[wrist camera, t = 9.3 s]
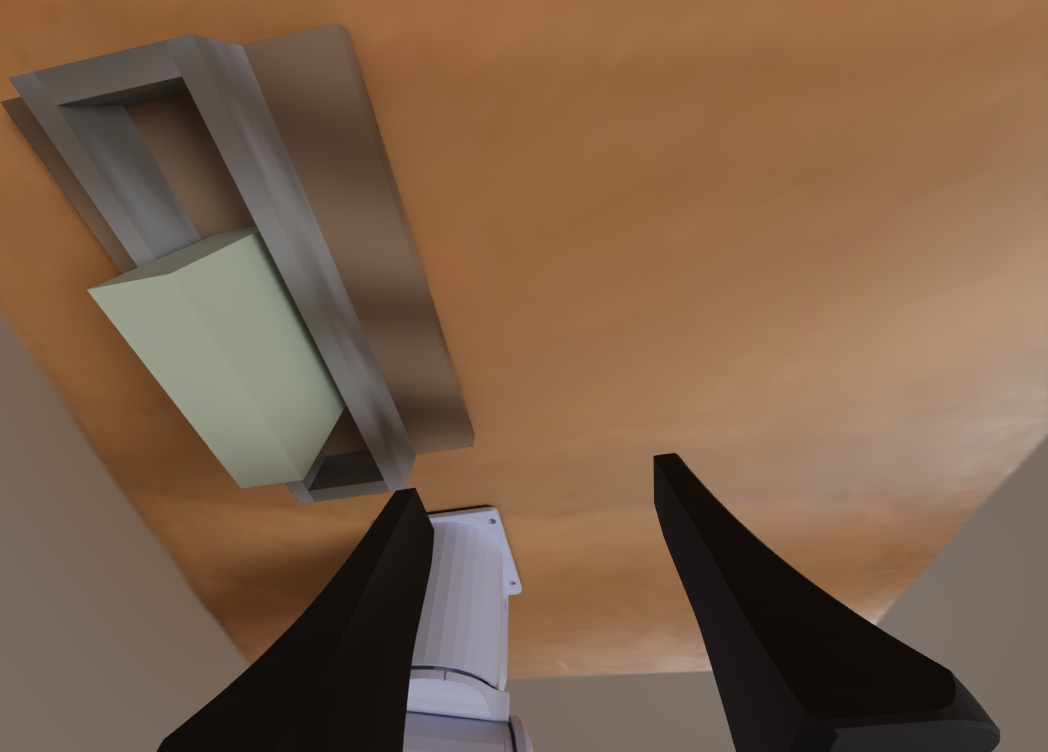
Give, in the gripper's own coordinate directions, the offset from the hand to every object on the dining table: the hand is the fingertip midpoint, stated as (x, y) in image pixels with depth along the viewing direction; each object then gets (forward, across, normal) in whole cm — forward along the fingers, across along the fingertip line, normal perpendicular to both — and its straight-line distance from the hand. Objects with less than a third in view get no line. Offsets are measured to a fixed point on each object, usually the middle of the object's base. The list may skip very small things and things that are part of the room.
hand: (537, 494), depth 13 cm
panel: (+8, +10, -4) cm, 14 cm away
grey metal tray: (+9, +10, -4) cm, 14 cm away
